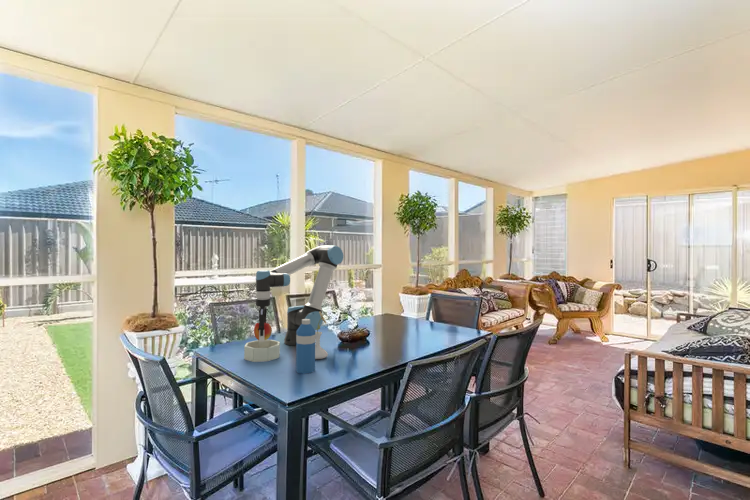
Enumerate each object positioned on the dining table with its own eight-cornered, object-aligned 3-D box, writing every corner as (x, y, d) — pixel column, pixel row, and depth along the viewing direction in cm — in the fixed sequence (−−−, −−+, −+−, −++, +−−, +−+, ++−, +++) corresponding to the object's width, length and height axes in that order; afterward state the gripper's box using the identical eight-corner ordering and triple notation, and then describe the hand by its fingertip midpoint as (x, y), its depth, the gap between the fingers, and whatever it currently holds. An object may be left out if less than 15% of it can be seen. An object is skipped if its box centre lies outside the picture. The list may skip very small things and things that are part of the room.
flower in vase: (323, 361, 200) (324, 314, 199) (303, 360, 202) (304, 313, 202) (331, 354, 212) (332, 310, 212) (312, 353, 215) (312, 309, 215)
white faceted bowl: (280, 351, 218) (280, 339, 218) (278, 360, 200) (278, 347, 200) (247, 352, 214) (247, 340, 214) (242, 362, 197) (242, 348, 197)
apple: (264, 343, 201) (264, 324, 201) (249, 341, 205) (249, 323, 205) (275, 339, 210) (275, 321, 210) (261, 337, 214) (261, 319, 213)
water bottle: (313, 373, 180) (313, 321, 180) (293, 373, 181) (294, 321, 180) (316, 367, 190) (317, 318, 190) (298, 367, 190) (298, 317, 190)
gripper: (258, 296, 217) (257, 335, 217) (253, 301, 196) (253, 344, 196) (271, 295, 218) (271, 334, 219) (268, 301, 197) (268, 344, 197)
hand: (262, 339), depth 207 cm, fingers closed on apple, 9 cm apart
